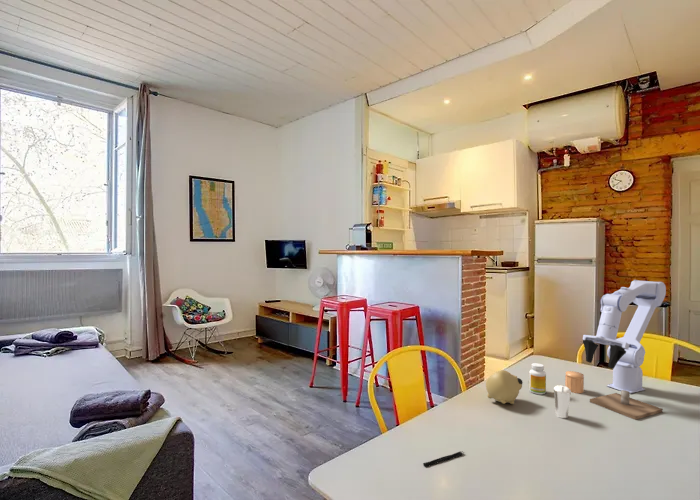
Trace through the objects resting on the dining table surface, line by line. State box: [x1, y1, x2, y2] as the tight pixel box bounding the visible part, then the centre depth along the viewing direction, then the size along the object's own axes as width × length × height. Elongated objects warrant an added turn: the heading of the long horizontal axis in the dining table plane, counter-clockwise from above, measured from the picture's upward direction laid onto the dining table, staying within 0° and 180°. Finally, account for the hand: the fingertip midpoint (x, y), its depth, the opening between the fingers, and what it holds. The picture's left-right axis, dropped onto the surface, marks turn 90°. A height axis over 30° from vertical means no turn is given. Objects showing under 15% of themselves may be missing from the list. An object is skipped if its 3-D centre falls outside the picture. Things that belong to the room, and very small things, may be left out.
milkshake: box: [553, 384, 572, 419], centre depth 115 cm, size 5×5×10 cm
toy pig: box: [485, 370, 524, 405], centre depth 126 cm, size 10×12×11 cm
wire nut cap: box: [564, 370, 585, 394], centre depth 137 cm, size 6×6×6 cm
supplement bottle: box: [528, 362, 547, 395], centre depth 135 cm, size 5×5×10 cm
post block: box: [589, 390, 663, 420], centre depth 123 cm, size 14×14×5 cm
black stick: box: [422, 450, 466, 468], centre depth 91 cm, size 12×1×1 cm, turn 117°
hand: (599, 364), depth 130 cm, fingers open, 7 cm apart
